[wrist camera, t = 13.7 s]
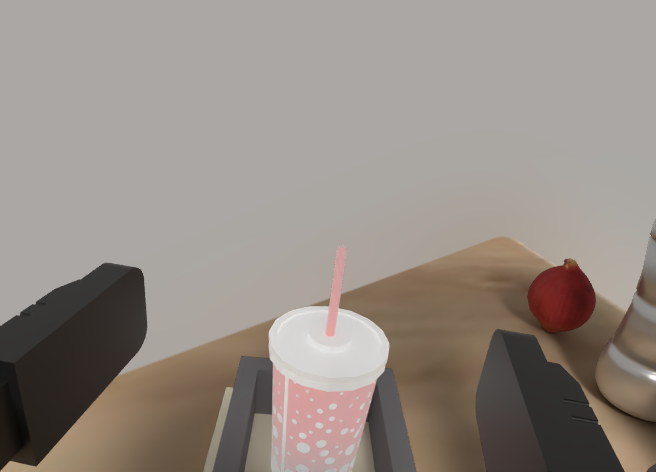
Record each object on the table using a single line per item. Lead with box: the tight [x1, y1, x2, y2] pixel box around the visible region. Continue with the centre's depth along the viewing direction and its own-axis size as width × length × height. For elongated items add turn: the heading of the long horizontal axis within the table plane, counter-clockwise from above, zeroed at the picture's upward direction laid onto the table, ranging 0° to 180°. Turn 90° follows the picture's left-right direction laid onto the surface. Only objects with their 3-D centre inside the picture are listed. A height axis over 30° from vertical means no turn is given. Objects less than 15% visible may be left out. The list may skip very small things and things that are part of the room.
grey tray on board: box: [203, 356, 416, 472], centre depth 26 cm, size 12×12×4 cm
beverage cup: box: [268, 244, 390, 472], centre depth 24 cm, size 6×6×14 cm
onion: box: [527, 259, 596, 333], centre depth 44 cm, size 6×6×8 cm
